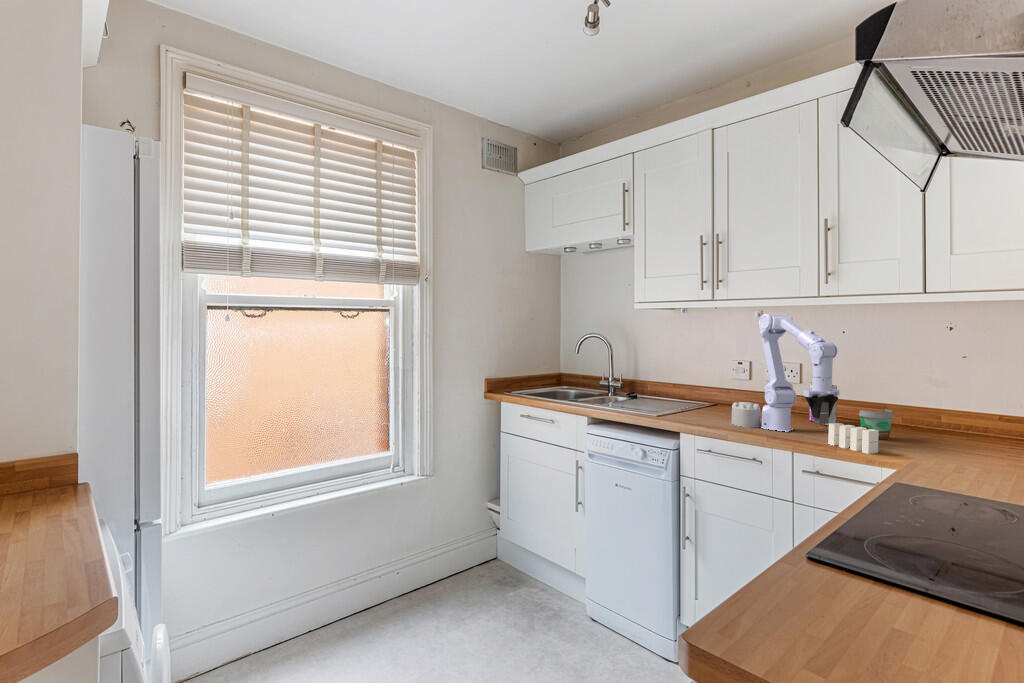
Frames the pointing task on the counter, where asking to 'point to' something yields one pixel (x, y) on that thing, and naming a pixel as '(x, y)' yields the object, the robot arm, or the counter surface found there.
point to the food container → (877, 422)
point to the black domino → (823, 414)
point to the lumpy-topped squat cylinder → (746, 414)
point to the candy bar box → (833, 414)
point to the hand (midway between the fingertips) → (821, 417)
